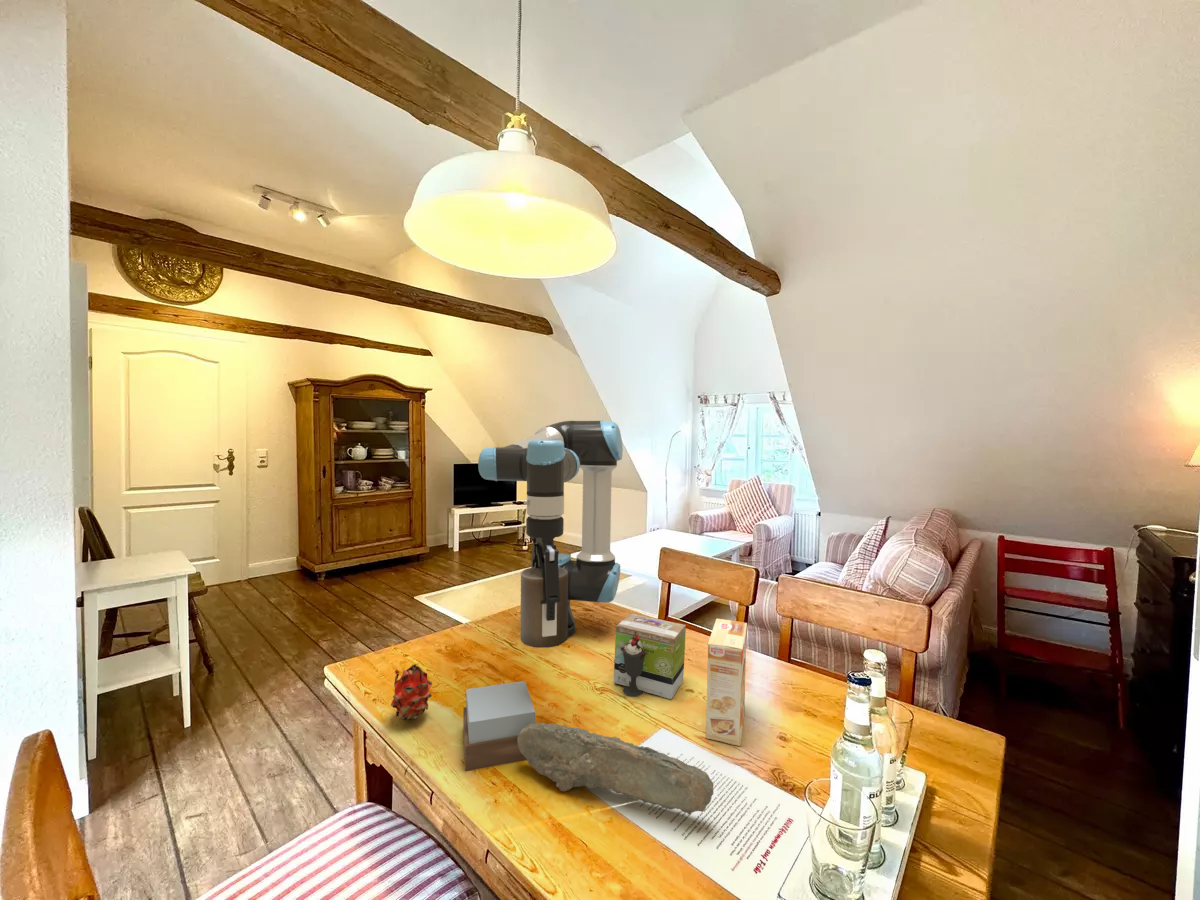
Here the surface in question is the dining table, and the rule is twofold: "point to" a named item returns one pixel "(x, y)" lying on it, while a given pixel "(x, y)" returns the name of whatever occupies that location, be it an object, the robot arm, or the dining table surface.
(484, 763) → the walnut block
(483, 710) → the slate block
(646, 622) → the tea box
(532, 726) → the long grey stone
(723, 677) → the coffeecake box
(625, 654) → the sundae
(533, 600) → the pillar candle
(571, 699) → the dining table surface
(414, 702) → the dragon fruit
